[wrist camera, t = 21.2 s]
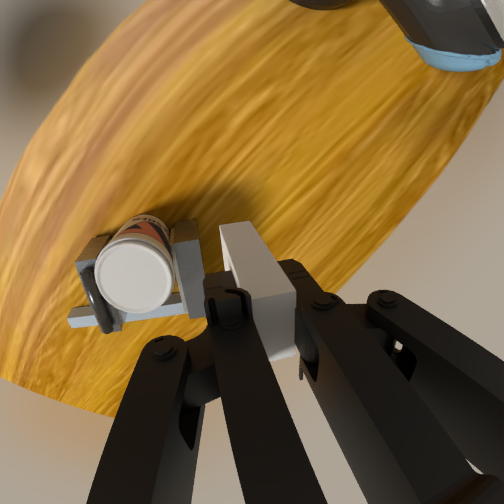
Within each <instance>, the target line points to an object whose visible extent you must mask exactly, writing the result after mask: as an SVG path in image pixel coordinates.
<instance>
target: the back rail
mask: <svg viewBox="0 0 504 504" xmlns="http://www.w3.org/2000/svg"><path fill="white" fill-rule="evenodd" d="M184 313H188V312H184V308H183V304H182V300H181V296H180V293H173V294H171V295H170V297H169V298H168V299H167V300H166V302H164V303H163V304H162V305H161V306H160V307H158V308H156V309H155V310H153V311H150V312H146V313H129V312H128V313H127V317H126V322H128V321H136V320H143V319H150V318H157V317H164V316H171V315H178V314H184ZM67 320H68V322H69V324H70V326H71V328H77V327H87V326H96V325H98V322H97V320H96V318H95V315H94V313H93V310H92V308H91V306H84V307H76V308H72V309H71V311H70V313H69V315H68V317H67Z"/></svg>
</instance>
